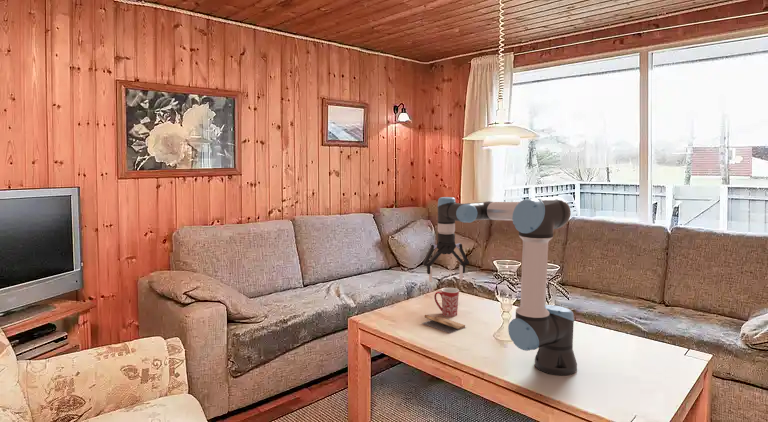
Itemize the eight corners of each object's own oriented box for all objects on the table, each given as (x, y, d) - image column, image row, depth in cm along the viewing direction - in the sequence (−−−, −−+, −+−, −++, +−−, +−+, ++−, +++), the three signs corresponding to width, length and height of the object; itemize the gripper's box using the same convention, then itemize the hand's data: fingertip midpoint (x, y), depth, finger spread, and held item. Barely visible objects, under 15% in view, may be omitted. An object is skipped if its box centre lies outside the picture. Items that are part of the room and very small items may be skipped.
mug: (461, 314, 251) (461, 288, 250) (455, 320, 243) (455, 293, 242) (437, 311, 257) (438, 286, 256) (431, 316, 249) (431, 290, 247)
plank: (459, 329, 227) (459, 327, 227) (451, 326, 223) (452, 323, 223) (432, 320, 240) (432, 318, 240) (424, 317, 236) (425, 314, 236)
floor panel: (466, 329, 229) (466, 325, 229) (450, 335, 222) (450, 330, 222) (437, 320, 243) (437, 315, 243) (421, 325, 236) (421, 320, 236)
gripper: (471, 230, 221) (471, 277, 224) (416, 232, 219) (416, 279, 221) (476, 233, 214) (476, 281, 216) (419, 234, 211) (419, 283, 214)
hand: (445, 280), depth 219 cm, fingers open, 13 cm apart
